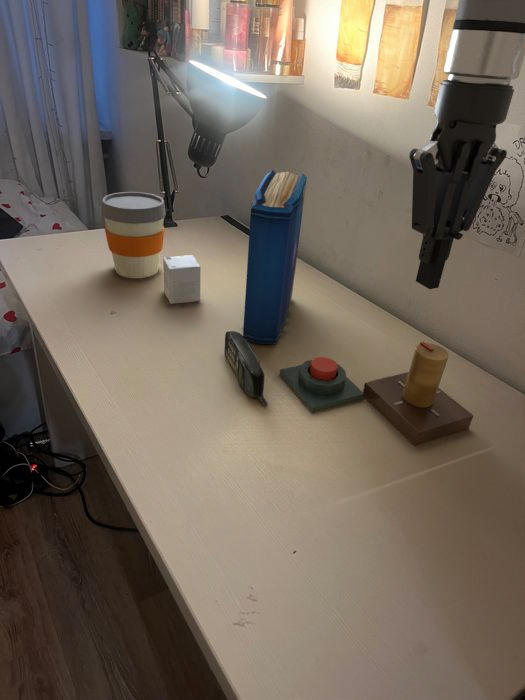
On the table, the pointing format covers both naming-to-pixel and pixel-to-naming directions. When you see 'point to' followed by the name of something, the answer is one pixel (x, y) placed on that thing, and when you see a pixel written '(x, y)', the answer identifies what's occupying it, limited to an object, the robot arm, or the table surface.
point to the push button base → (320, 388)
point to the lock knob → (425, 374)
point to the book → (272, 255)
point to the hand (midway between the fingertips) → (426, 284)
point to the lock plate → (416, 411)
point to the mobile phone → (245, 365)
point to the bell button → (323, 368)
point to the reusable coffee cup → (134, 232)
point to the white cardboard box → (181, 279)
